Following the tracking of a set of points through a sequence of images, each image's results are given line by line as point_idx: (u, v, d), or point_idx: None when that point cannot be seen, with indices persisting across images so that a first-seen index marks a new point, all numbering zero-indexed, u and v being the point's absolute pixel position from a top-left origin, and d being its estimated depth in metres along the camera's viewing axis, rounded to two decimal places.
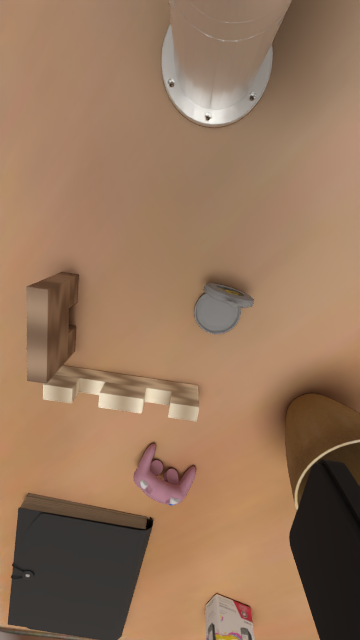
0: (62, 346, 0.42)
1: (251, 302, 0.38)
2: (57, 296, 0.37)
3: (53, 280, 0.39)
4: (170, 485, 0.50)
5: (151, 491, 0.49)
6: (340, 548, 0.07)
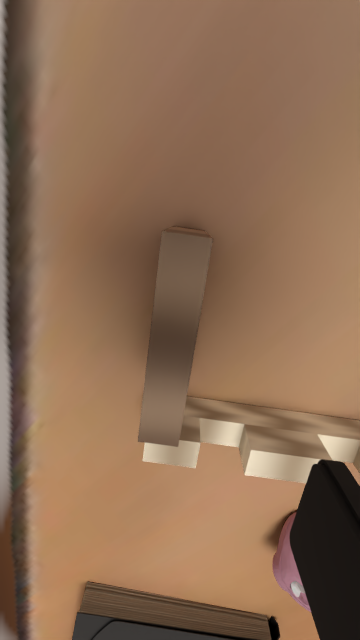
0: None
1: None
2: None
3: (186, 230, 0.19)
4: None
5: None
6: (340, 548, 0.07)
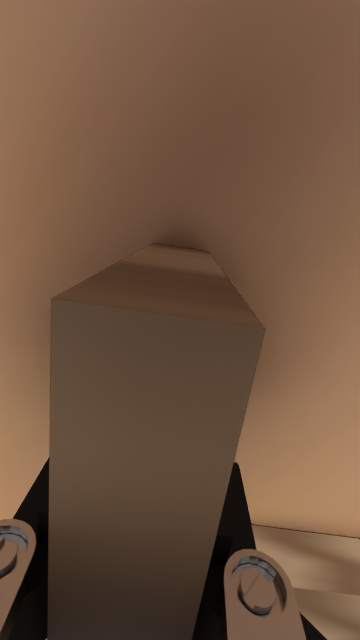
0: None
1: None
2: None
3: (170, 262, 0.08)
4: None
5: None
6: None
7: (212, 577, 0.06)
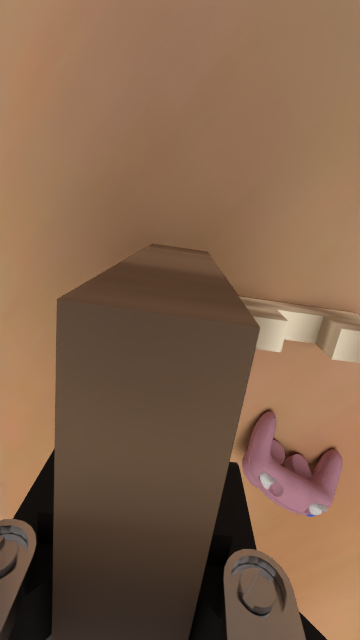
0: None
1: None
2: None
3: (170, 263, 0.08)
4: (308, 481, 0.29)
5: (281, 492, 0.27)
6: None
7: (212, 577, 0.06)
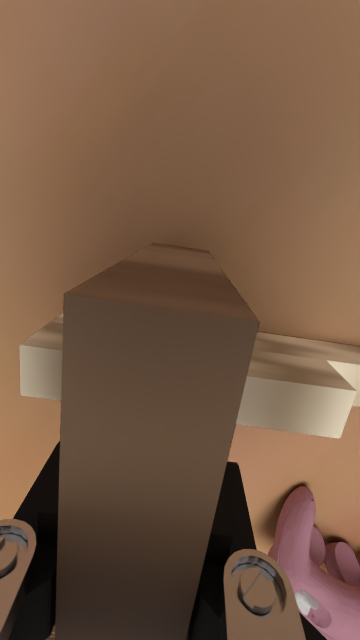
0: None
1: None
2: None
3: (171, 261, 0.08)
4: None
5: (328, 622, 0.18)
6: None
7: (212, 577, 0.06)
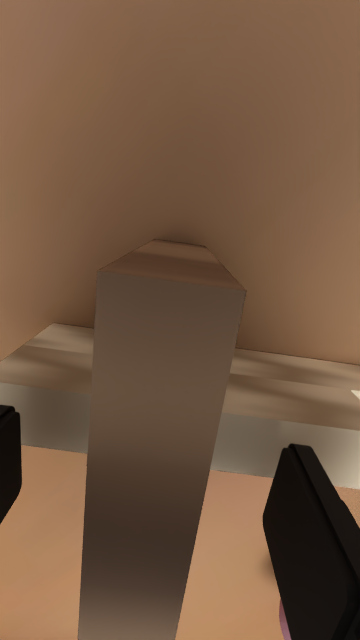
0: None
1: None
2: None
3: (173, 253, 0.09)
4: None
5: None
6: (301, 523, 0.07)
7: None
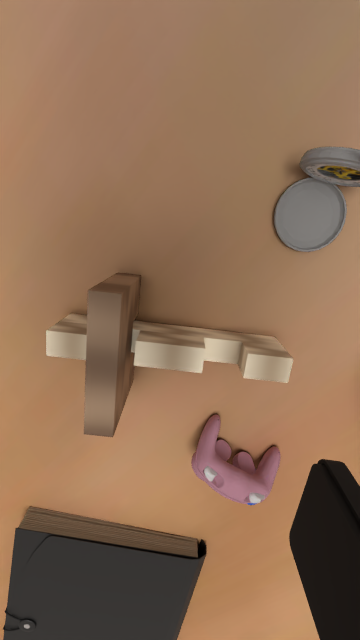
0: (126, 377, 0.29)
1: None
2: (126, 304, 0.25)
3: (116, 282, 0.26)
4: (248, 474, 0.33)
5: (222, 483, 0.32)
6: (340, 548, 0.07)
7: None
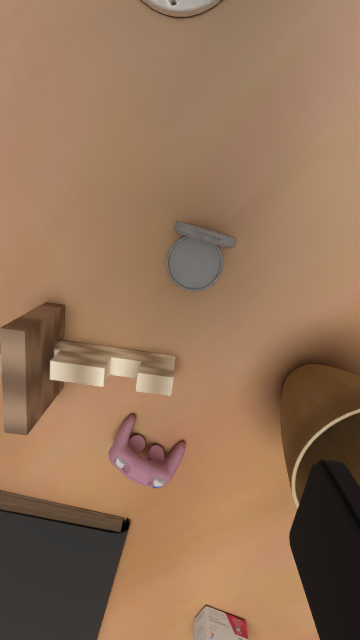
0: (46, 388, 0.37)
1: (232, 240, 0.30)
2: (37, 335, 0.32)
3: (33, 315, 0.34)
4: (153, 463, 0.41)
5: (129, 470, 0.40)
6: (340, 548, 0.07)
7: None
